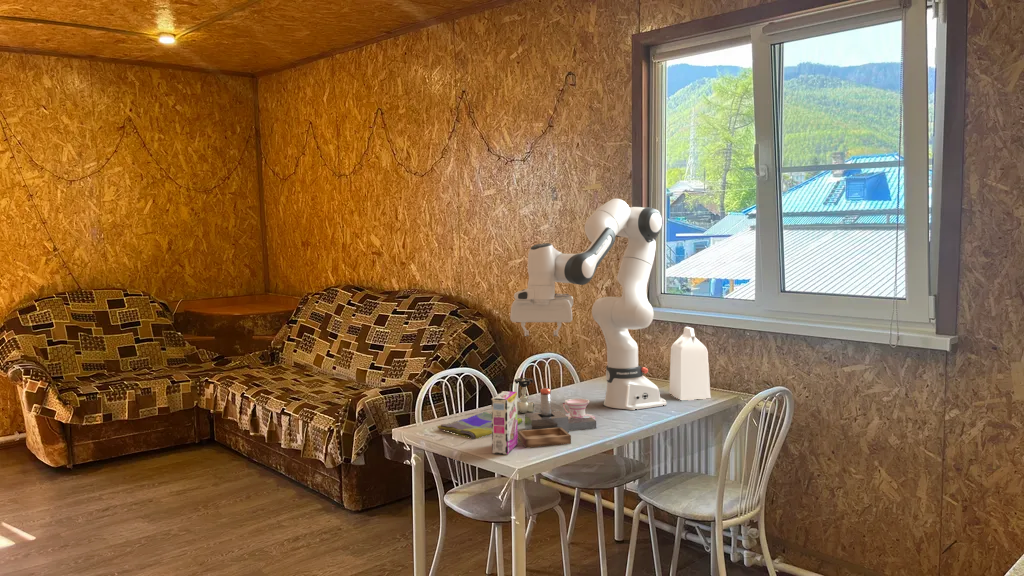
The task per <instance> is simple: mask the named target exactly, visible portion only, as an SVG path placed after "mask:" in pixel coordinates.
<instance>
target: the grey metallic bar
mask: <svg viewBox="0 0 1024 576" xmlns="http://www.w3.org/2000/svg"><path fill="white" fill-rule="evenodd" d="M551 392H552V391H551V388H549V387H542V388H540V412H541V418H542V417H551V411H552V394H551Z"/></svg>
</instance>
